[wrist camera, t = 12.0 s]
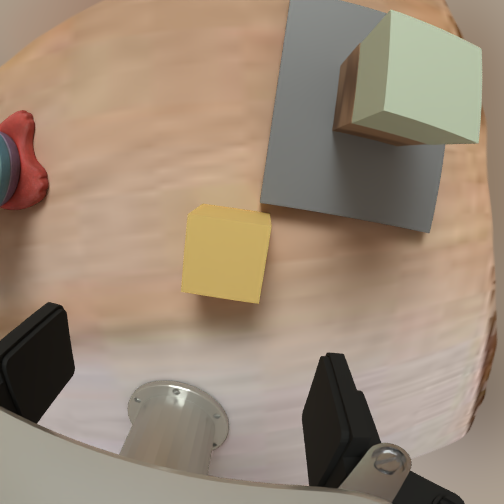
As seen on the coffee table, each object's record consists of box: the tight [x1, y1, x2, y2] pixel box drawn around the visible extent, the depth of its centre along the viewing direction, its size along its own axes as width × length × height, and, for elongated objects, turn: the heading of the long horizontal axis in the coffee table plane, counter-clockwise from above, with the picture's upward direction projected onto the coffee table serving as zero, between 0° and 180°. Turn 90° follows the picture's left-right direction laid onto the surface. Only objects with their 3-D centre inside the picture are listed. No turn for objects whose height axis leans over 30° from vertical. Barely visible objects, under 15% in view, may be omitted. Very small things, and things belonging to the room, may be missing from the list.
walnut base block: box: [332, 43, 425, 146], centre depth 21 cm, size 6×6×6 cm
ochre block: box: [181, 204, 272, 304], centre depth 27 cm, size 6×6×6 cm
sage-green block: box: [352, 10, 482, 145], centre depth 16 cm, size 6×6×6 cm
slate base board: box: [260, 0, 445, 233], centre depth 25 cm, size 20×16×2 cm
